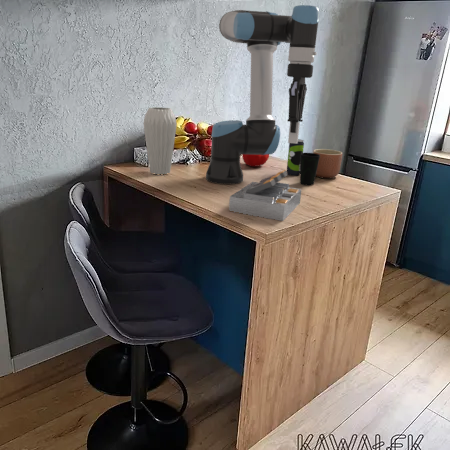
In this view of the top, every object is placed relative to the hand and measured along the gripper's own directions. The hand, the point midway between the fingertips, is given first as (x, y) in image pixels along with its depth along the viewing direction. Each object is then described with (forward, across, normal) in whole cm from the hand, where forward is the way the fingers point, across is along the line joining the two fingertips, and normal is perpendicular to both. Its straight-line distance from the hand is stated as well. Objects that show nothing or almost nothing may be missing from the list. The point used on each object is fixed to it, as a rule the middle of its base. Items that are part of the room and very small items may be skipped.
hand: (292, 142), depth 143 cm
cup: (+23, +39, +2) cm, 45 cm away
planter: (+23, +56, -2) cm, 61 cm away
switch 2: (+14, 0, +7) cm, 16 cm away
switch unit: (+22, 0, +7) cm, 23 cm away
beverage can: (+23, +52, +11) cm, 58 cm away
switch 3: (+14, +7, +7) cm, 18 cm away
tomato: (+23, +58, +31) cm, 70 cm away
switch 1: (+14, -7, +7) cm, 17 cm away
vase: (+23, +21, +60) cm, 67 cm away
